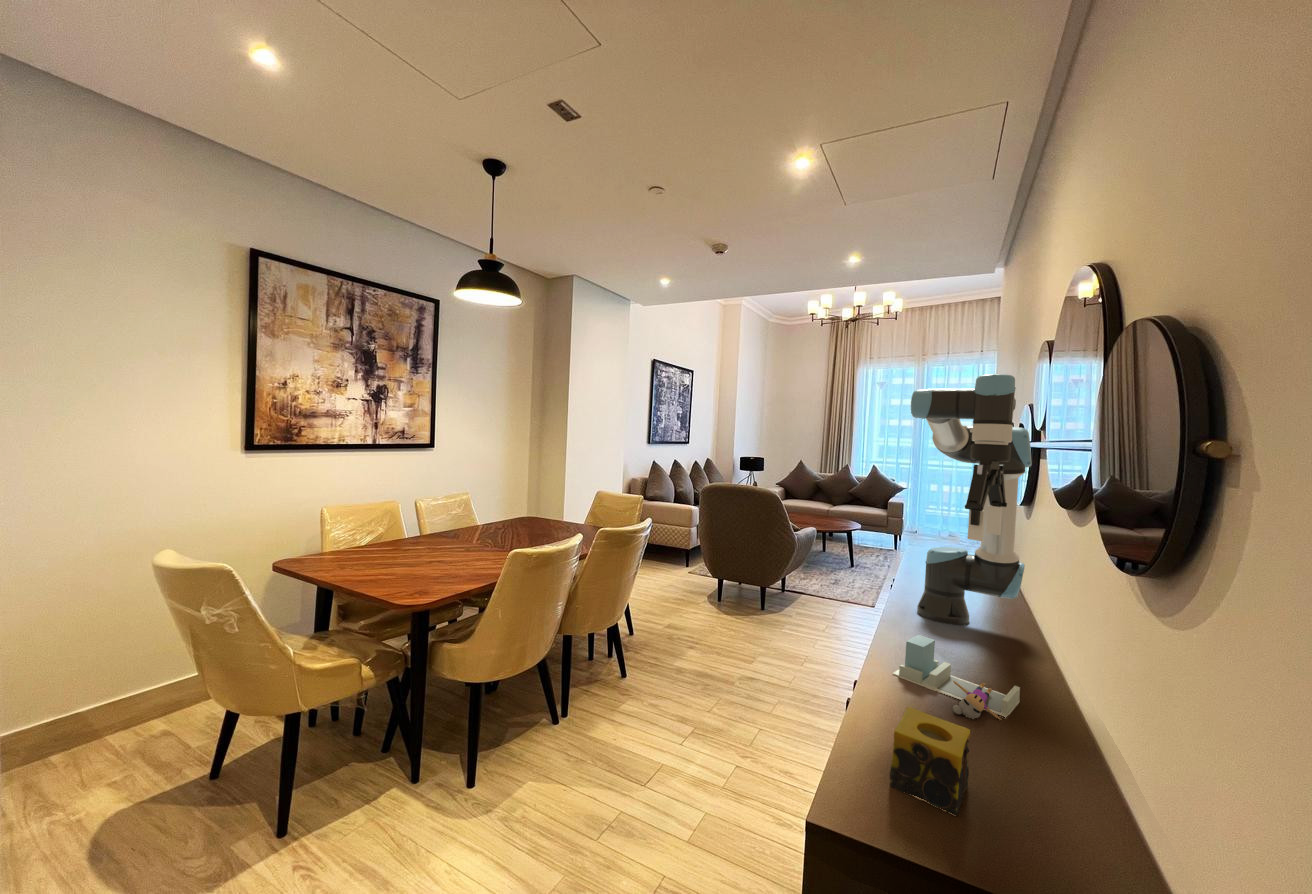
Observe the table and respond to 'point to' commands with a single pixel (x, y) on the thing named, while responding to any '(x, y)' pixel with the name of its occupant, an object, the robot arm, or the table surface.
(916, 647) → the grey-blue block
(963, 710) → the toy
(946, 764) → the yellow tissue box
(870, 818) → the table surface
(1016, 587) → the robot arm
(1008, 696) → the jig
